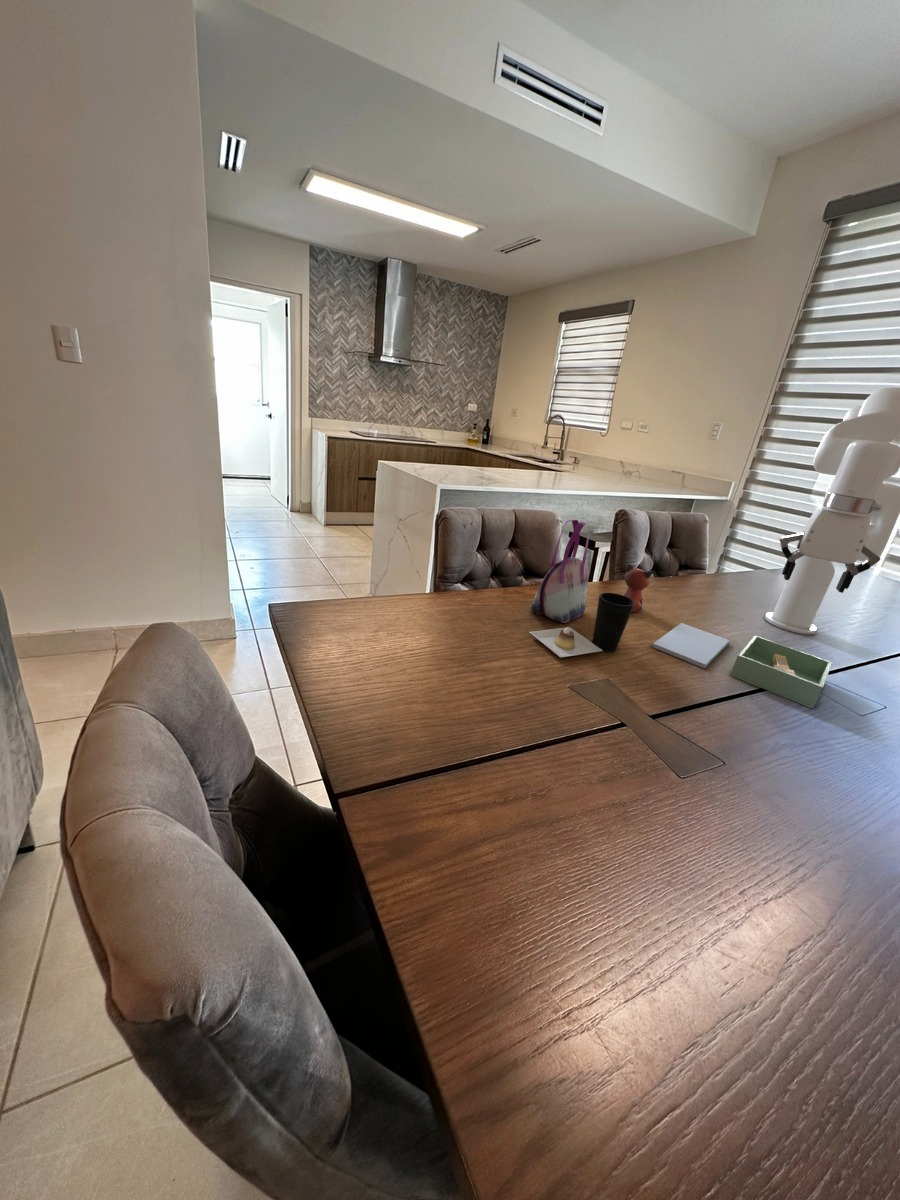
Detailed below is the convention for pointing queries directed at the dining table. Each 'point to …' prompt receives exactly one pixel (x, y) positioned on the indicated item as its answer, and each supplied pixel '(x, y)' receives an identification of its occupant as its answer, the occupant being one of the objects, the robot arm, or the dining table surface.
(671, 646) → the mat
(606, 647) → the cup
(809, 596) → the robot arm
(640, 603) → the stuffed fox
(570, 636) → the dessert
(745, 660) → the basket
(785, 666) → the brush
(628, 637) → the dining table surface
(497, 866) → the dining table surface
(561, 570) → the handbag
